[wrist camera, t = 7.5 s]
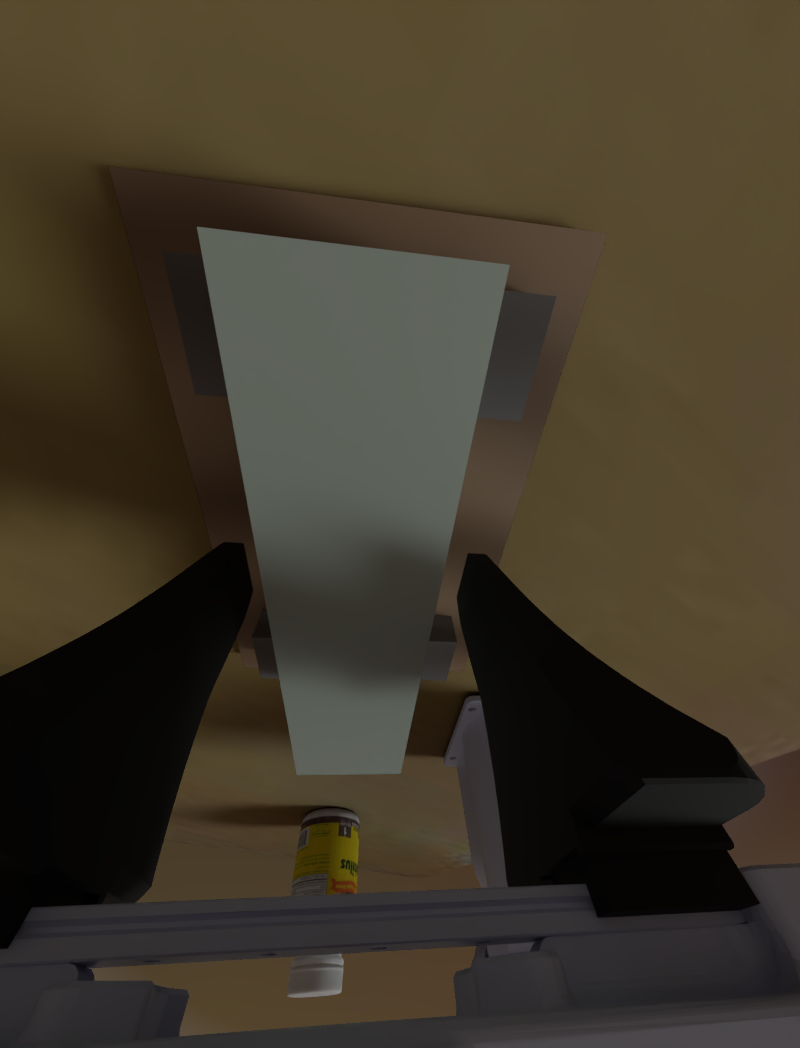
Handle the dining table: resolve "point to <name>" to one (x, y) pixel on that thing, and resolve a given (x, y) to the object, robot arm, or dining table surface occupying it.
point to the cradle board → (530, 249)
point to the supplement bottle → (323, 890)
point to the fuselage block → (350, 465)
